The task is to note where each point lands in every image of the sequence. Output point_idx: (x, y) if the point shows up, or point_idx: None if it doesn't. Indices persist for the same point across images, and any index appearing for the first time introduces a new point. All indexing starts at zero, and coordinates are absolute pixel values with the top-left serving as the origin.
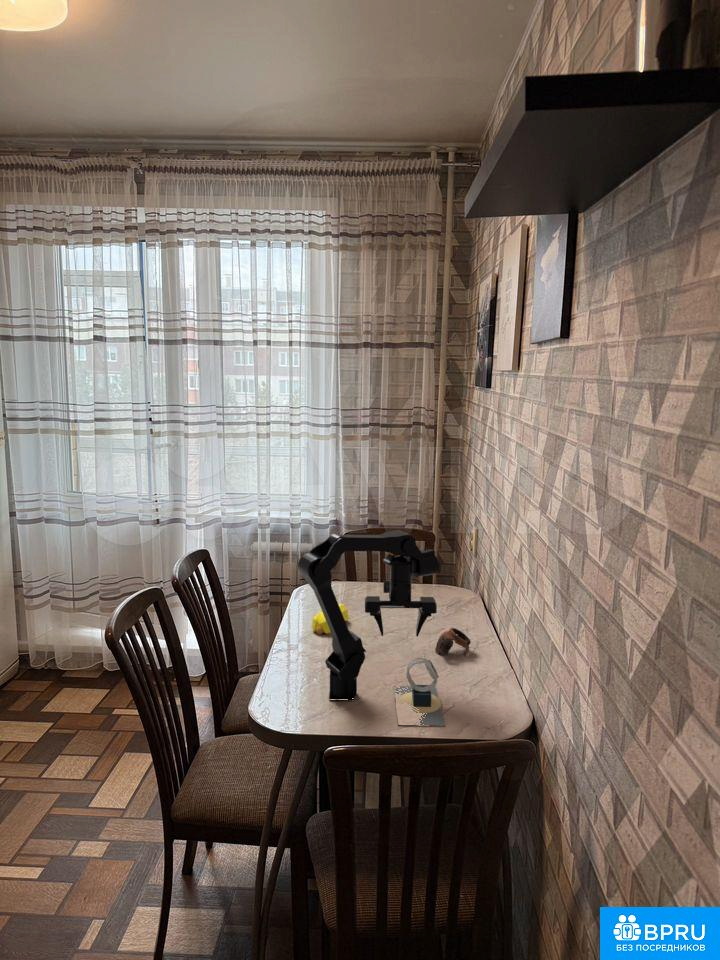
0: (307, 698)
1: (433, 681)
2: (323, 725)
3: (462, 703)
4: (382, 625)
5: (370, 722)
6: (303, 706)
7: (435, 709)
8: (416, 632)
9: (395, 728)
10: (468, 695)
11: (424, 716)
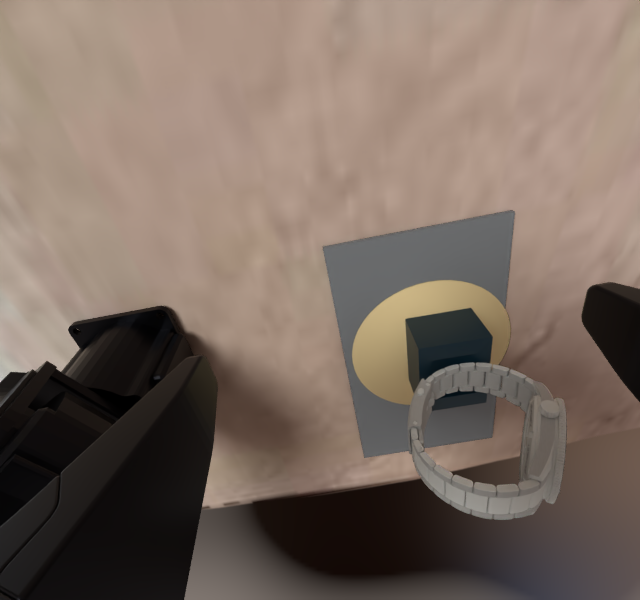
0: None
1: (520, 380)
2: None
3: None
4: (190, 561)
5: (288, 454)
6: None
7: None
8: (614, 360)
9: (358, 462)
10: (637, 251)
11: (439, 414)
